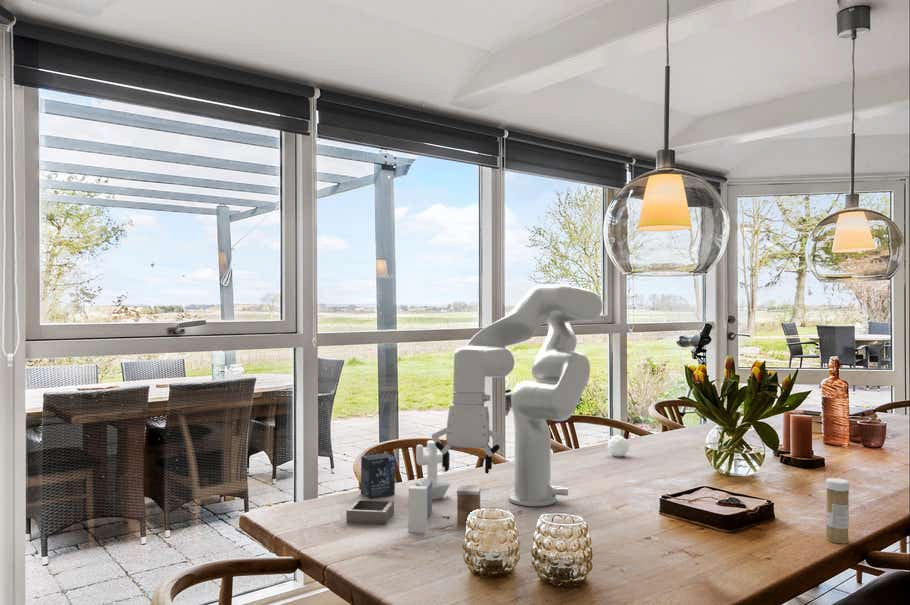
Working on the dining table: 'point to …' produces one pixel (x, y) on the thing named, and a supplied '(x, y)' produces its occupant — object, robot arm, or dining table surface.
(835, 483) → the sprinkles bottle
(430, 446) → the figurine
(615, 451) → the ornament
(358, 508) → the tray
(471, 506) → the stop block
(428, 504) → the grey upright block
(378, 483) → the box
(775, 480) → the dining table surface
